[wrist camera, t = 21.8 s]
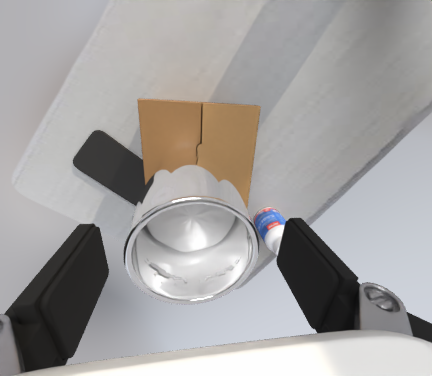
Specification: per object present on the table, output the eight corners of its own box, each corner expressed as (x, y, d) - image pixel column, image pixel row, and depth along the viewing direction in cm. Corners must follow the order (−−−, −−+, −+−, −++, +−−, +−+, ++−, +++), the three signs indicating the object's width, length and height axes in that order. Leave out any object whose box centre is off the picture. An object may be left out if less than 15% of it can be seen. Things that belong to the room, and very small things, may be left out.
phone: (96, 126, 29) (177, 187, 35) (98, 126, 30) (178, 185, 35) (69, 164, 31) (151, 216, 36) (72, 162, 31) (152, 213, 37)
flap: (259, 106, 22) (260, 106, 22) (245, 214, 28) (246, 216, 27) (202, 102, 21) (202, 102, 21) (199, 215, 27) (199, 217, 26)
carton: (238, 104, 31) (261, 105, 22) (230, 186, 37) (246, 216, 27) (151, 99, 29) (136, 98, 20) (157, 187, 35) (147, 219, 25)
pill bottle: (265, 201, 39) (289, 231, 30) (283, 214, 41) (311, 245, 32) (247, 222, 40) (265, 256, 32) (266, 233, 42) (288, 268, 33)
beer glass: (161, 195, 24) (134, 317, 11) (152, 137, 21) (99, 201, 8) (218, 190, 25) (260, 297, 12) (216, 134, 22) (269, 186, 9)
